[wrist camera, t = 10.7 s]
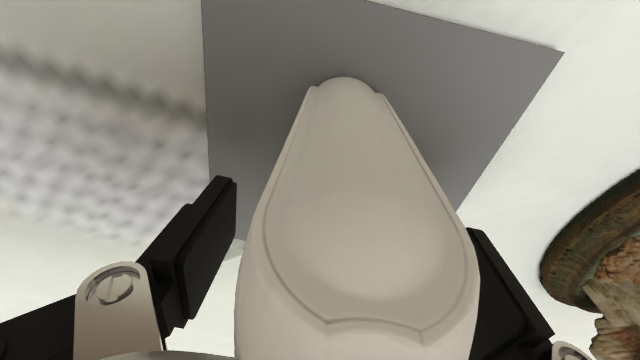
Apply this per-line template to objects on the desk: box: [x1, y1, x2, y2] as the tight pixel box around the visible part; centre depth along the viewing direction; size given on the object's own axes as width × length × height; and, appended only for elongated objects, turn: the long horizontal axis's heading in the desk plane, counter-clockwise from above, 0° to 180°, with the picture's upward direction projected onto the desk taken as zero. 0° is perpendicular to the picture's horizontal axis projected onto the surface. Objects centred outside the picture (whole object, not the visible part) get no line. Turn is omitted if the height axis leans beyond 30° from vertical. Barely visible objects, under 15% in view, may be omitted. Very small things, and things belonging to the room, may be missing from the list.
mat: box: [201, 0, 565, 241], centre depth 15 cm, size 16×16×1 cm
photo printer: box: [234, 77, 480, 360], centre depth 9 cm, size 10×4×12 cm, turn 175°
